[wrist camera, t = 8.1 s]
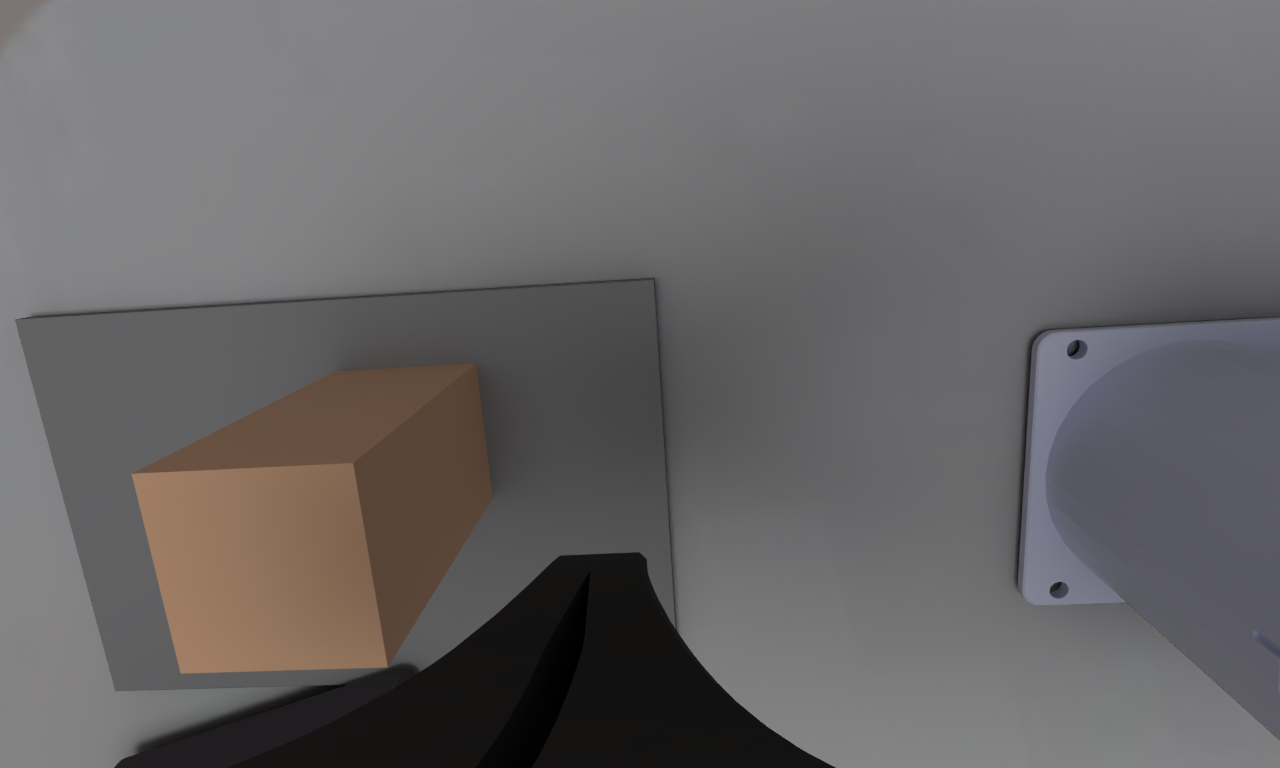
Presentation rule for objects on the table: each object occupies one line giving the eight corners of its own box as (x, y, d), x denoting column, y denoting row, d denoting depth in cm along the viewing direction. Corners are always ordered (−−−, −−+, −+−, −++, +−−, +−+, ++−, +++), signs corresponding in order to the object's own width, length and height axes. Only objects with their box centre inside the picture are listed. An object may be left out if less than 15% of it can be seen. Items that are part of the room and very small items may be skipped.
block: (476, 363, 21) (353, 463, 13) (492, 498, 21) (388, 667, 14) (335, 370, 21) (131, 474, 13) (358, 503, 22) (180, 673, 14)
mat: (653, 278, 20) (653, 280, 20) (678, 665, 23) (678, 675, 23) (30, 316, 21) (15, 319, 21) (126, 681, 24) (115, 691, 24)
